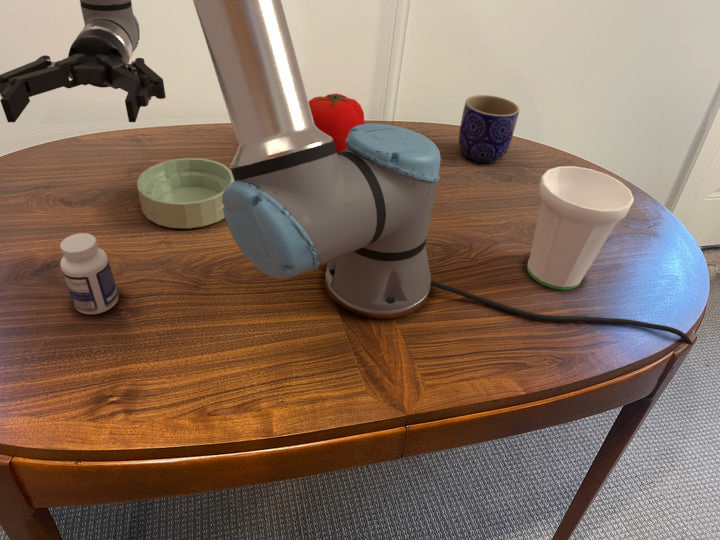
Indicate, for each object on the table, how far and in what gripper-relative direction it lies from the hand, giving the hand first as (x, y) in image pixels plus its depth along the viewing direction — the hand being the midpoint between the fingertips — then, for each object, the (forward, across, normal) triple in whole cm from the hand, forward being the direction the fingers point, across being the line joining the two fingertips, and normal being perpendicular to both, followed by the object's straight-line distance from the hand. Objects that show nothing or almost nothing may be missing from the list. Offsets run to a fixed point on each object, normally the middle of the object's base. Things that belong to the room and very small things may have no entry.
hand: (70, 111), depth 64 cm
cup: (+10, -66, -22) cm, 71 cm away
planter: (-30, -69, -22) cm, 79 cm away
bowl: (-14, -11, -22) cm, 28 cm away
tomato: (-33, -38, -22) cm, 55 cm away
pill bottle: (+10, 0, -22) cm, 24 cm away
